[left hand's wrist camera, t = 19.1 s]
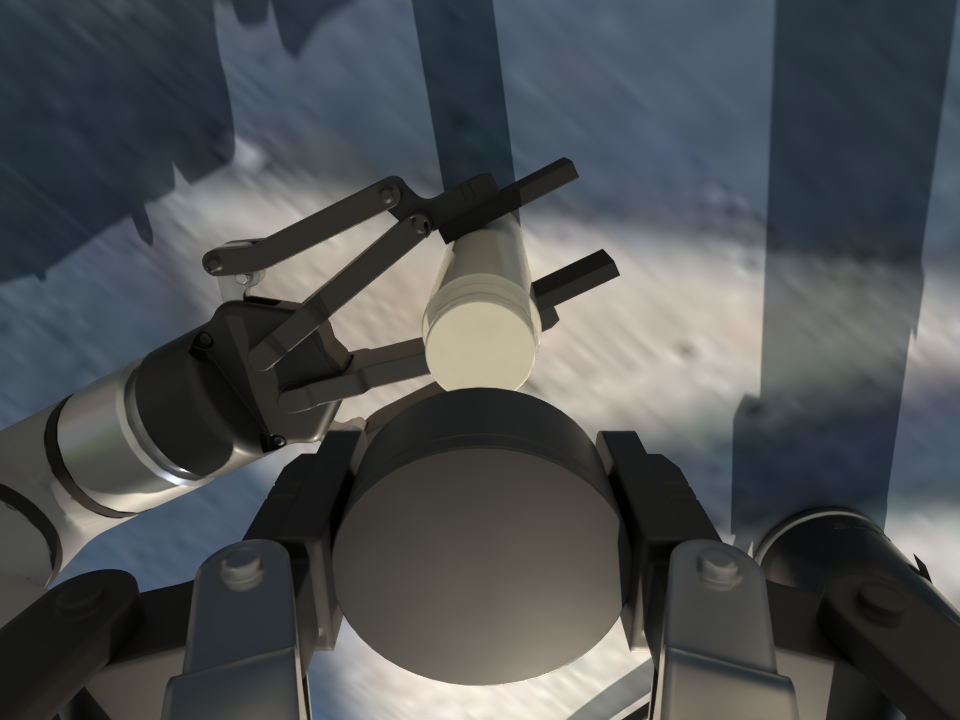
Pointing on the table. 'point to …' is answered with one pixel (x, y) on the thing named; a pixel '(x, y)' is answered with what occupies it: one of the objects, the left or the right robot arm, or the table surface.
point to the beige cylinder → (483, 311)
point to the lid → (481, 540)
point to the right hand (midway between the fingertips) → (590, 215)
